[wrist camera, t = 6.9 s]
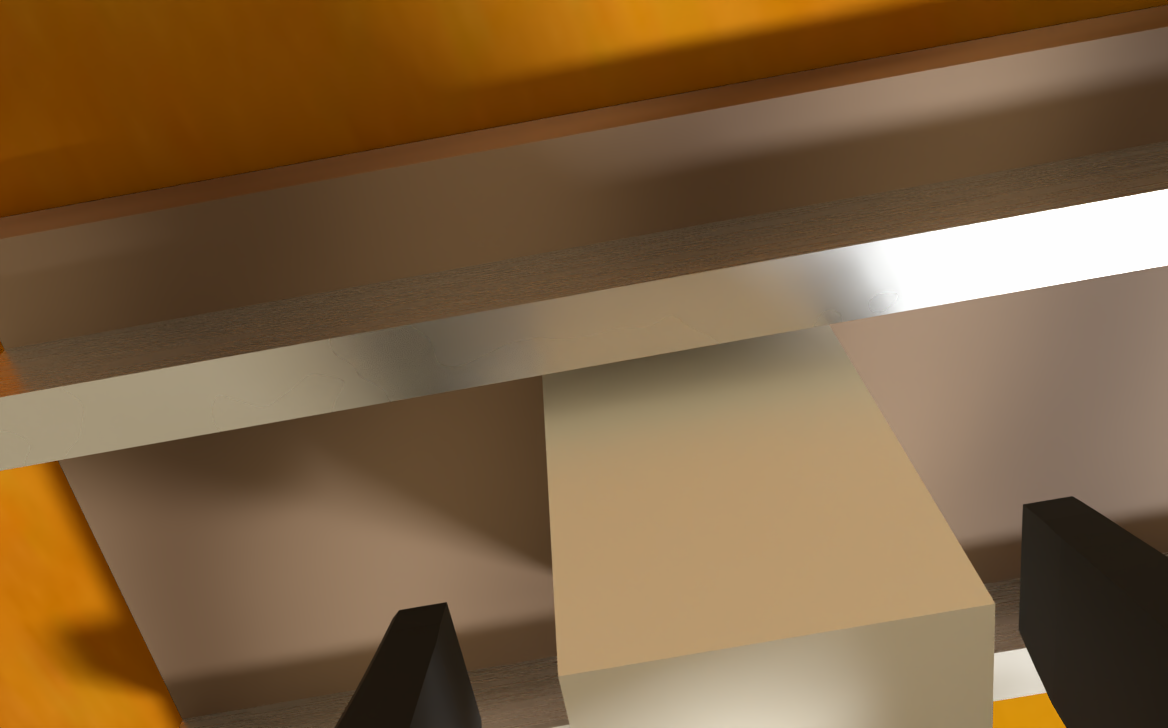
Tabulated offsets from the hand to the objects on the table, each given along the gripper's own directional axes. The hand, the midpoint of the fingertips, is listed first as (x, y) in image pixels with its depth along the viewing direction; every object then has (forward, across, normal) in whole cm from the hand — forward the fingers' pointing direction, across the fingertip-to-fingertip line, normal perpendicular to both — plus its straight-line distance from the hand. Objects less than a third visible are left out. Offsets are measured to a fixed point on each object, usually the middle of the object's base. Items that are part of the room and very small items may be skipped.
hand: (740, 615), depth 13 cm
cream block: (+3, 0, 0) cm, 3 cm away
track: (+4, 0, 0) cm, 4 cm away
